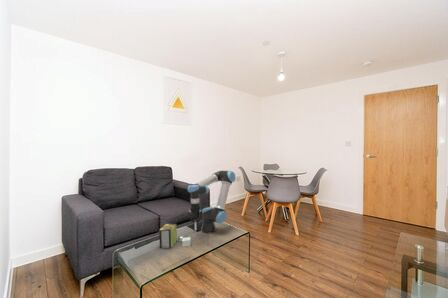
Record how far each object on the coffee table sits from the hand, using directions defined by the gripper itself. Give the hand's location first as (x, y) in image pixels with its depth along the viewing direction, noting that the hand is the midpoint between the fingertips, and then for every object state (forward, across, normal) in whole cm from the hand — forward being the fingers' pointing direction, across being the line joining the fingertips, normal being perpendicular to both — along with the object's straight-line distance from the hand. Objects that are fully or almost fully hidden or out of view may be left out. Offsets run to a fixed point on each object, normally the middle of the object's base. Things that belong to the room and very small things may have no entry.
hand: (195, 229), depth 182 cm
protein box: (+13, -24, +4) cm, 28 cm away
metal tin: (+13, -13, +9) cm, 20 cm away
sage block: (+13, -8, 0) cm, 15 cm away
